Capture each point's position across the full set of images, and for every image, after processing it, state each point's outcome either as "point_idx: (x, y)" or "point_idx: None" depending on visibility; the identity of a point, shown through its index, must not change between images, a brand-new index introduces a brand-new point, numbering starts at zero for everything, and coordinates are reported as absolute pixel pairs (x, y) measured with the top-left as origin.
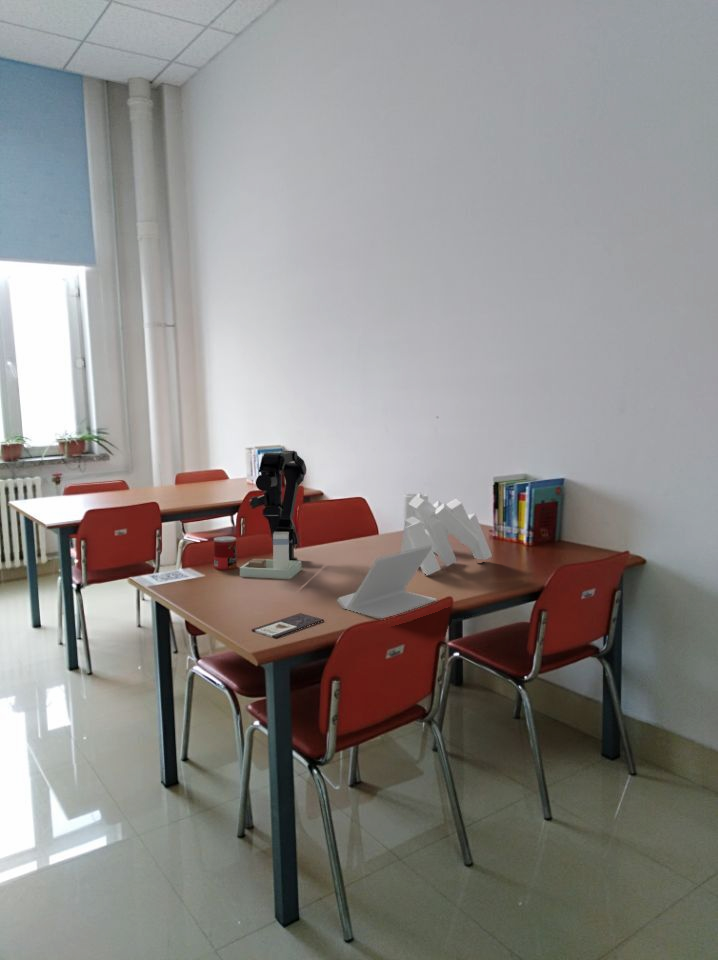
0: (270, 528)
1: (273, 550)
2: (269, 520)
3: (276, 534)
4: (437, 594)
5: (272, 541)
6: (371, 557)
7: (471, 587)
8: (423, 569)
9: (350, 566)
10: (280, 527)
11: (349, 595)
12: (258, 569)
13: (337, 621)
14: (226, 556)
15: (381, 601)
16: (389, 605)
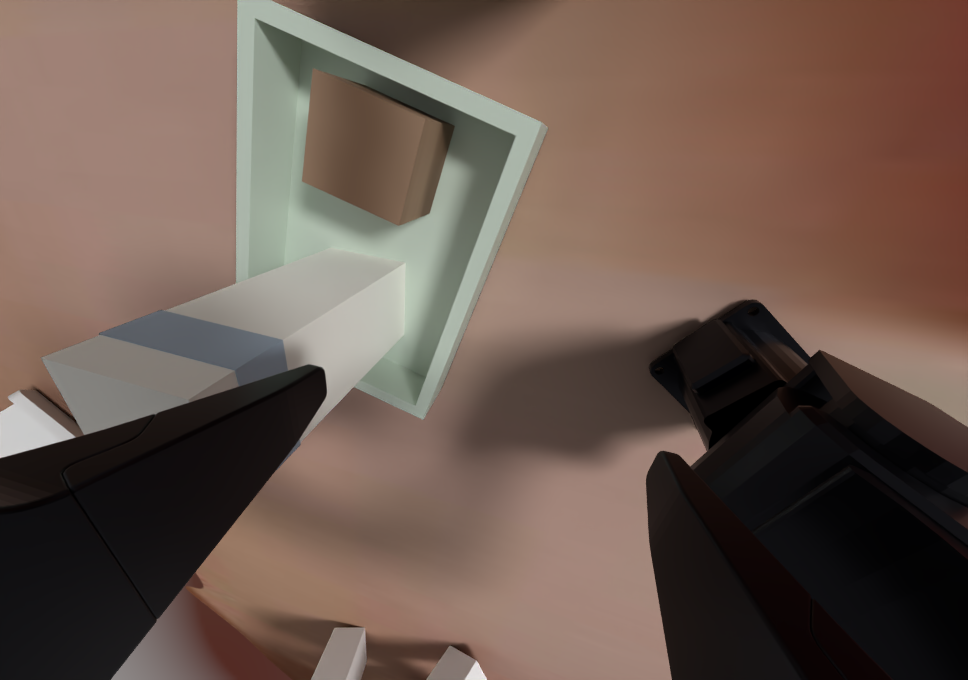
0: (227, 396)
1: (209, 295)
2: (7, 485)
3: (63, 391)
4: (210, 574)
5: (826, 360)
6: (613, 642)
7: (271, 632)
8: (341, 643)
9: (488, 551)
10: (775, 553)
11: (48, 428)
12: (241, 156)
13: None
14: None
15: None
16: None
